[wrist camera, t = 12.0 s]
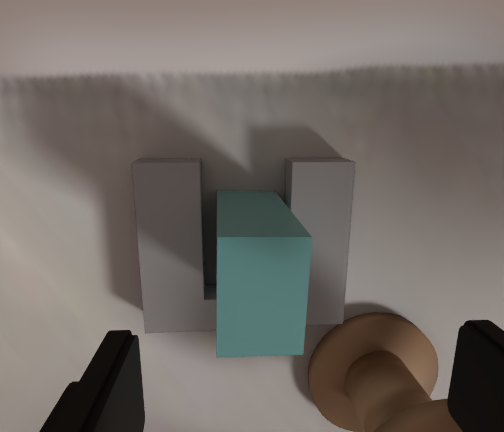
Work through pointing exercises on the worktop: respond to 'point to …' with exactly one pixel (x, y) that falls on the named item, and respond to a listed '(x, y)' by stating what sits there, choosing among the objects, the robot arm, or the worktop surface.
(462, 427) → the robot arm
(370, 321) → the door knob
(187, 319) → the notched board
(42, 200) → the worktop surface
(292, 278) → the teal tab
